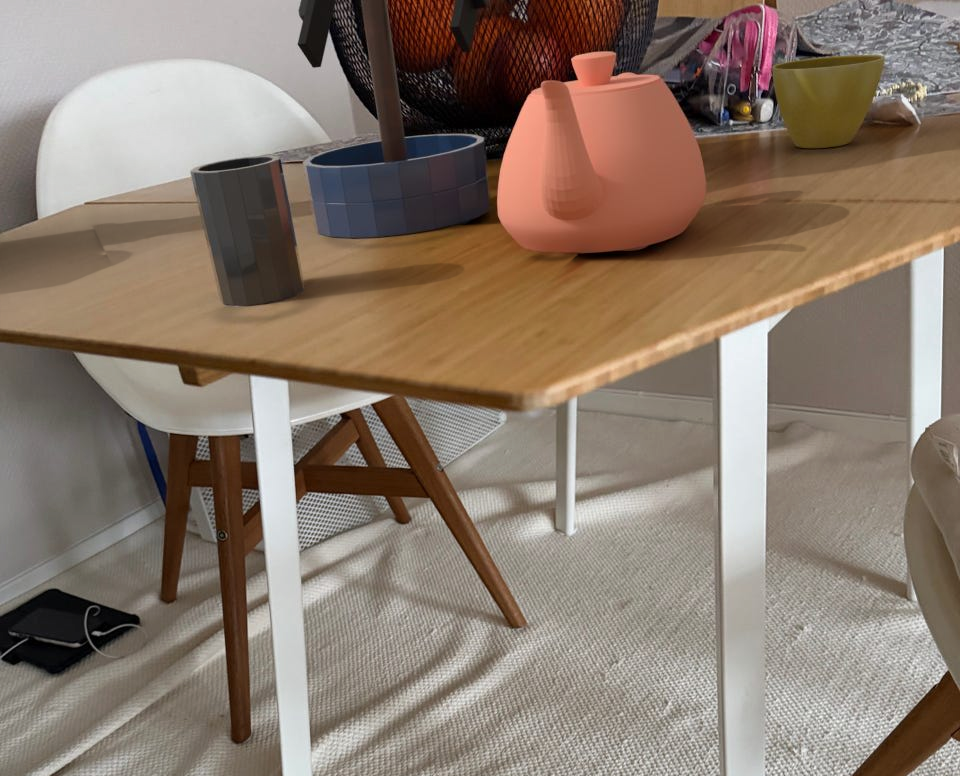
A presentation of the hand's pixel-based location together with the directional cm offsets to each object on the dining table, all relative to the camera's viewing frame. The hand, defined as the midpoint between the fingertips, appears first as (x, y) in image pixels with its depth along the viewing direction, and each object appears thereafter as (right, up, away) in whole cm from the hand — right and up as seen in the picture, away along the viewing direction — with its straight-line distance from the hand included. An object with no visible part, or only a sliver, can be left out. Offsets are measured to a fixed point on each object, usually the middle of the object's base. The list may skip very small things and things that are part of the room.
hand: (382, 48), depth 88 cm
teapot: (+17, -19, -7) cm, 26 cm away
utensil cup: (-7, -24, -12) cm, 28 cm away
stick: (+1, -11, +6) cm, 13 cm away
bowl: (+1, -12, +7) cm, 13 cm away
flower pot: (+41, 0, +18) cm, 45 cm away
